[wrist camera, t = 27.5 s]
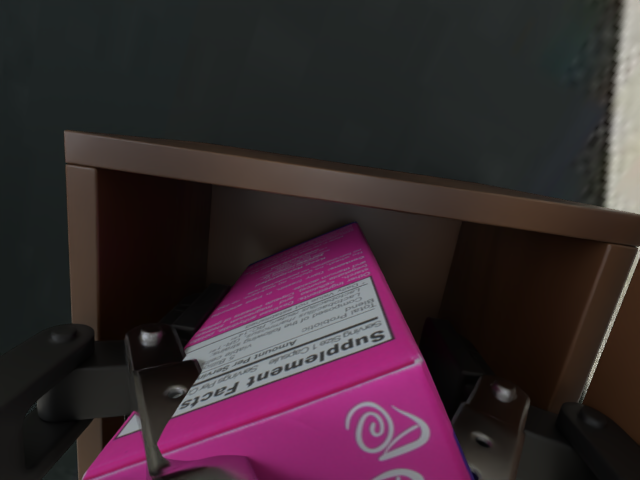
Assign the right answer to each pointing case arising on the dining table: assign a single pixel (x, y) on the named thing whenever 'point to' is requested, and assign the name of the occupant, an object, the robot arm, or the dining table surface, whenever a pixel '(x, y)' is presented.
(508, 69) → the dining table surface
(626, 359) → the lid
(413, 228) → the chest
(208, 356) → the supplement box
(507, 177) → the dining table surface
